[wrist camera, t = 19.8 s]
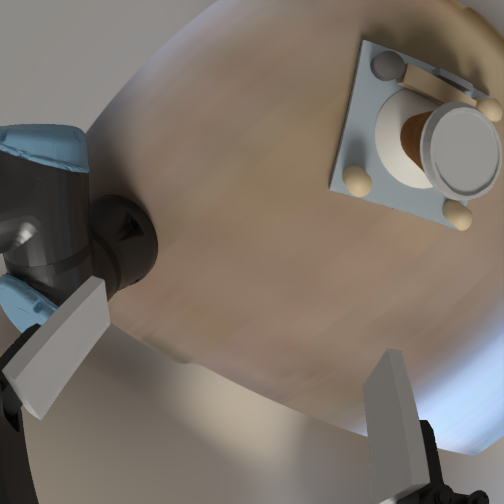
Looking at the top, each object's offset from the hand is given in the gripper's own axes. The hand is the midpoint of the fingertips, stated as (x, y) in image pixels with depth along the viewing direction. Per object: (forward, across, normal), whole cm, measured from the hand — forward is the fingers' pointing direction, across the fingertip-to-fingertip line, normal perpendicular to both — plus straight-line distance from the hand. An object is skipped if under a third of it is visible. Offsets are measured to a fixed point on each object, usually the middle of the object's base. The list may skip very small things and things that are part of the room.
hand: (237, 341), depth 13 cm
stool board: (+29, +16, +11) cm, 35 cm away
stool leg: (+27, +14, +18) cm, 35 cm away
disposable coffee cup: (+27, +16, +11) cm, 33 cm away
